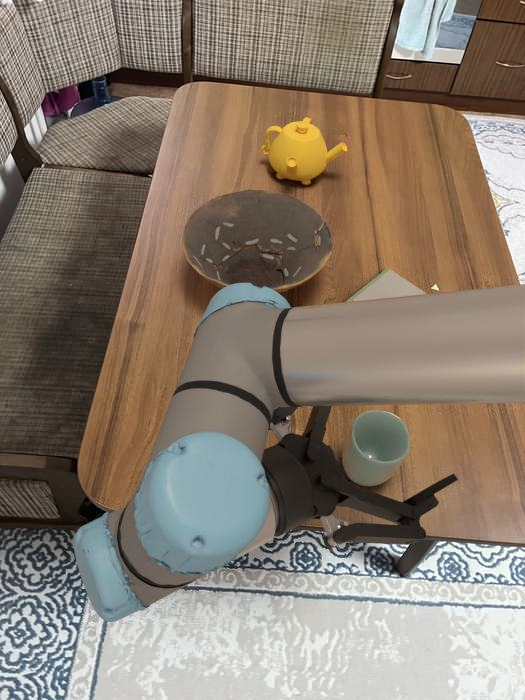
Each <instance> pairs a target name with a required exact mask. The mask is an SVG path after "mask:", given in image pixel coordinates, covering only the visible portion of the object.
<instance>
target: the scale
mask: <svg viewBox="0 0 525 700" xmlns="http://www.w3.org/2000/svg"><path fill="white" fill-rule="evenodd" d="M422 294H428V293H426V292H425V291H424V290H422V289H421V288H420V287H418V286H416V285H414V284H413V283H411V282H410V281H408V280H407V279H405V277H402V276H401V275H399V274H398V273H397V272H396V271H394V270H392V269H390V268H389V267H386V268H385V269H384V270H382V271H381V272H380V273H379V274H377V275H376V276H375V277H374V278H372V280H370V281H369V282H368V283H366V284H365V285H364V286H363V287H362V288H360V289H359V290H357V292H356V293H354V294H352V296H351V297H349V298H348V299H347V300H346V301H345V302H352V301H362V300H372V299H382V298H392V297H402V296H412V295H422Z"/></svg>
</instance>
